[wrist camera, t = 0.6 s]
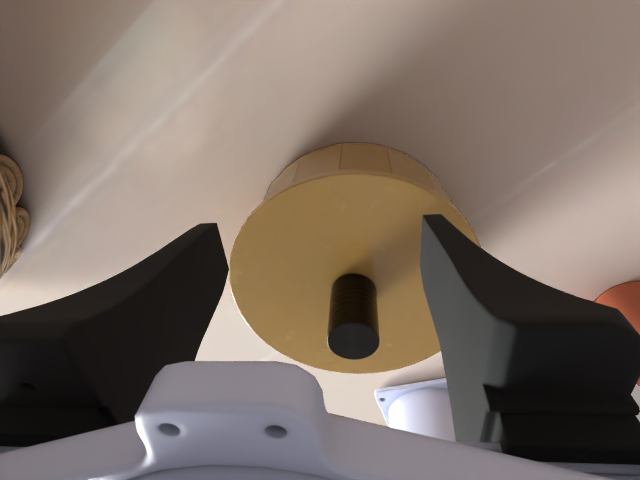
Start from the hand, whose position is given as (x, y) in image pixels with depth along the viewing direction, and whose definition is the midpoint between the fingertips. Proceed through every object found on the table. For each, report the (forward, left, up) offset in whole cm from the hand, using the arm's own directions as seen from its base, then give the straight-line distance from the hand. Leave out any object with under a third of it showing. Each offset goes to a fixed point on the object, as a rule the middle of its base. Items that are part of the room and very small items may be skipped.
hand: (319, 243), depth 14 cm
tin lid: (-6, +1, -5) cm, 8 cm away
